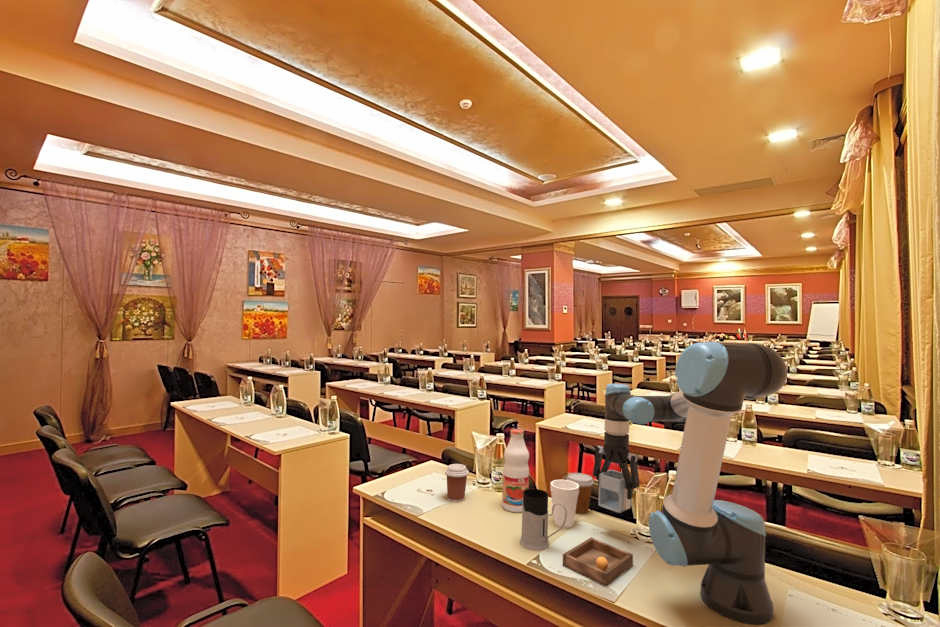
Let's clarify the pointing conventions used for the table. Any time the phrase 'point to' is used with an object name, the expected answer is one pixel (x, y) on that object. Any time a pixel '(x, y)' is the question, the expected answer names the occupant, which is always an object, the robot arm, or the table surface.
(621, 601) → the table surface
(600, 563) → the ball
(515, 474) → the fruit juice
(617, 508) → the grey frame
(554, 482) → the foam cup
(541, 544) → the grey mug
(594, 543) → the tray
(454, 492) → the coffee cup
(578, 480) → the disposable coffee cup
